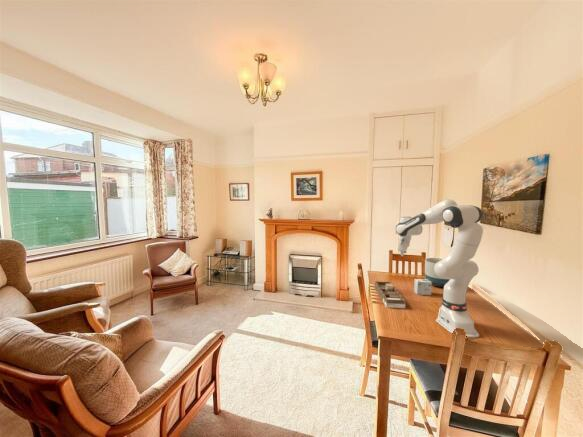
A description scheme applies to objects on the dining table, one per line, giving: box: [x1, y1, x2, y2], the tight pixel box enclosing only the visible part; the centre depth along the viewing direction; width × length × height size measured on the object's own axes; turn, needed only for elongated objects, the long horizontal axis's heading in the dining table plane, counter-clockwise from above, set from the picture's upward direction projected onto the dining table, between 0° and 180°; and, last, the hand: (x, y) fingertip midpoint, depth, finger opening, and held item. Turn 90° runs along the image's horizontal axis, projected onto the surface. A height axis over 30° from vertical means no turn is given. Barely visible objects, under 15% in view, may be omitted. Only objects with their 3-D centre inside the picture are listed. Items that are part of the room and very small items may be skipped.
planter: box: [424, 257, 450, 288], centre depth 200 cm, size 20×20×21 cm
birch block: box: [386, 283, 394, 291], centre depth 184 cm, size 5×4×4 cm
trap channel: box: [374, 280, 406, 309], centre depth 178 cm, size 35×12×6 cm, turn 173°
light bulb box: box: [413, 278, 433, 296], centre depth 184 cm, size 11×7×11 cm, turn 84°
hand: (403, 254), depth 182 cm, fingers open, 8 cm apart
